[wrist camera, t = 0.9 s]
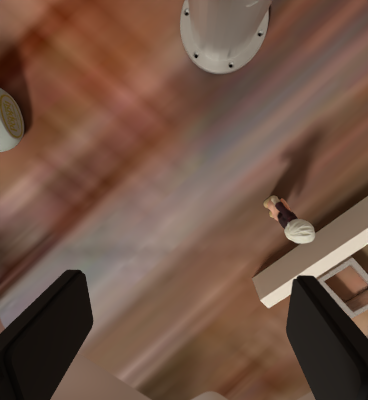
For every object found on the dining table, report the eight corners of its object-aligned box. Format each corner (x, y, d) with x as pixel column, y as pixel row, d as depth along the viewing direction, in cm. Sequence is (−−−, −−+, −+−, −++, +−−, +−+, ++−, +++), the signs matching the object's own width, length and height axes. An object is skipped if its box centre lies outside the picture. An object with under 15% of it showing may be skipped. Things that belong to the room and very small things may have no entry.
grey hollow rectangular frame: (343, 250, 39) (352, 257, 37) (377, 288, 41) (388, 297, 39) (309, 272, 41) (315, 281, 39) (343, 308, 43) (351, 318, 41)
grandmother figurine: (294, 213, 38) (337, 248, 26) (276, 225, 39) (310, 265, 27) (269, 182, 37) (302, 204, 25) (251, 196, 38) (275, 223, 26)
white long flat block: (369, 194, 36) (401, 205, 30) (377, 204, 36) (410, 216, 31) (252, 278, 43) (259, 300, 37) (259, 285, 43) (268, 308, 37)
